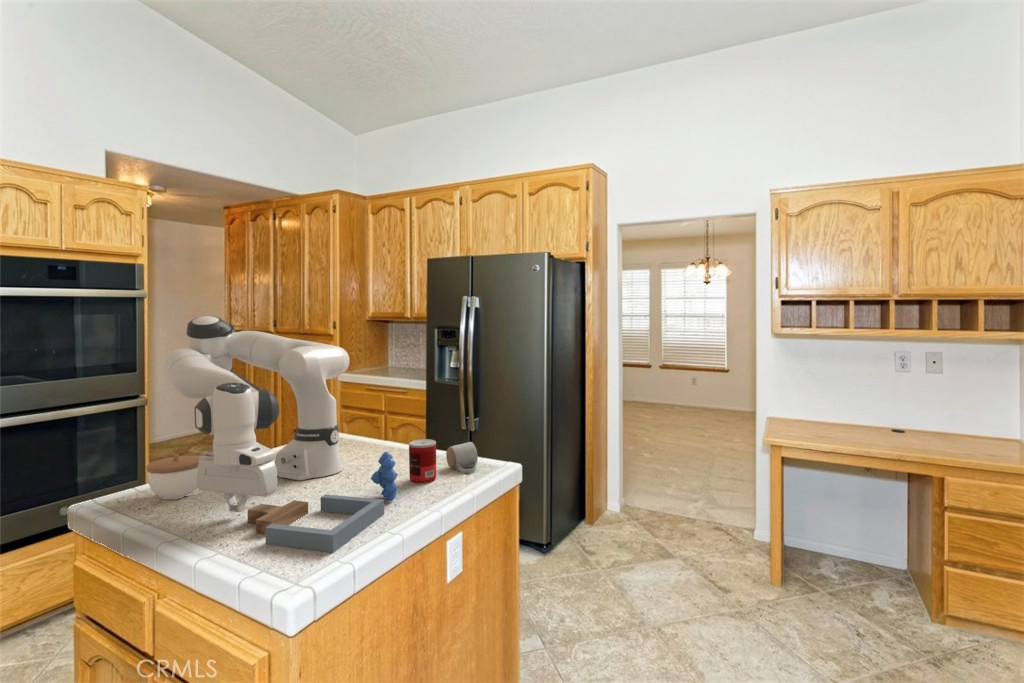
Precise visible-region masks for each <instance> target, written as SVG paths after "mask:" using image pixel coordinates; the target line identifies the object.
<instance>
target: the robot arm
mask: <svg viewBox="0 0 1024 683" xmlns="http://www.w3.org/2000/svg"><path fill="white" fill-rule="evenodd" d="M235 331H236V328H235V327H234V325H232V324H229V323H228V322H227V321H226V320H224V319H222V318H220V317H218V316H215V315H214V316H209V315H206V316H205V315H203V316H199V317H195V318H193V319H192V320H190V321H188V323H187V327H186V336H187V347H179V348H176V349H174V350H173V351H171V352H169V354H167V355H166V357H165V359H164V365H163V367H164V373H165V376H166V379H167V381H168V382H169V385H171V388H173V389H174V391H175V392H176V393H177V394H179V395H181V396H183V397H185V398H187V399H194V400H199V401H198V402H197V404H195V406H194V427H195V429H197V430H198V431H199V432H200V433H202V434H204V435H206V436H209V435H210V436H213V440H212V451H210V450H205V451H203V452H202V453H200V455H198V456H199V464H198V468H197V477H196V486H197V488H196V489H198V491H201V492H210V493H211V492H212V493H221V494H223V498H224V499H225V500H226V503H227V504H228V511H229V512H232V513H233V512H235V513H242V512H244V511H245V510H246V502H247V500H248V499H249V497H250V496H251V497H262V498H265V497H268V496H271V495H272V494H274V493H276V491H277V488H278V478H284V479H287V480H288V479H289V480H294V481H305V480H308V479H309V480H310V479H313V478H314V479H315V478H322V477H327V476H332V475H335V474H338V473H340V472H341V471H343V470H344V466H343V463H342V459H341V454H340V448H339V433H340V432H339V424H338V423H337V422H338V421H337V420H338V419H337V418H338V417H337V416H338V415H337V399H336V398H335V397H334V395H332V394H331V393H330V391H329V390H328V385H327V380H331V379H336V378H337V377H339V376H341V375H342V374H345V372H346V371H348V369H349V366H350V355H349V354H348V352H347V351H346V350H345V349H344V348H342V347H341V346H338V345H333V344H327V343H322V342H316V341H311V340H303V339H296V338H290V337H285V336H281V335H276V334H273V333H268V332H263V331H259V330H241V331H237V332H235ZM233 359H237V360H239V361H241V362H243V363H246V364H248V365H251V366H255V367H258V368H260V369H265V370H269V371H271V372H276V373H280V377H282V378H283V379H284V380H285V381H286V382H288V384H289V386H290V387H291V389H292V391H293V393H294V397H295V400H296V405H297V406H296V408H297V422H298V425H297V427H296V428H294V429H291V430H290V434H291V435H292V434H294V435H293V437H292V438H293V439H291V441H289V442H288V443H286V445H284V446H283V447H282V448H281V449H279V450H278V451H277V453H276V452H275V450H274V449H272V448H269V447H267V446H265V445H263V444H261V443H259V442H258V441H257V436H256V432H255V430H264V429H269V428H270V427H271V426H272V425H273V424H274V423H275V422H276V421H277V419H278V418H279V415H280V403H279V400H278V399H277V397H276V396H275V394H273V392H271V391H269V390H268V389H262V388H260V387H258V386H257V385H255V384H254V383H253V382H250V381H249V380H248V379H247V378H245V377H244V376H242V375H240V374H238V373H236V372H234V367H233ZM273 460H274V461H273ZM277 476H278V477H277ZM237 500H238V501H237Z"/></svg>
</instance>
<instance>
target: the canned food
mask: <svg viewBox="0 0 1024 683" xmlns="http://www.w3.org/2000/svg"><path fill="white" fill-rule="evenodd" d="M408 460H409V462H408V464H409V466H408V468H409V470H408V472H409V473H408V474H409V481H410V482H411V483H413V484H417V483H418V484H419V483H424V484H429V483H432V482H434V481H436V479H437V441H436V440H434V439H429V438H428V439H427V438H424V439H422V438H421V439H415V440H412V441H410V442H409V443H408ZM428 482H429V483H428ZM419 485H420V484H419Z"/></svg>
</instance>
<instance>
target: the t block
mask: <svg viewBox="0 0 1024 683" xmlns="http://www.w3.org/2000/svg"><path fill="white" fill-rule="evenodd" d="M306 514H307V515H309V501H305V500H304V501H303V500H295V499H294V500H292V501H290V502H287V503H286V504H284V505H275V504H267V503H259V504H257V505H255V506H253V507H251V508H249V509H247V524H254V525H255V530H256V532H255V533H256V534H258V535H266V532H265V527H267V526H269V525H271V524H281V525H289V526H291V525H292V524H293V522H294V523H295V522H297V521H299V520H301V519H302V518H304V517H306V516H307V515H306ZM305 515H306V516H305ZM303 516H304V517H303ZM301 517H302V518H301ZM298 519H299V520H298ZM296 520H297V521H296Z"/></svg>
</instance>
